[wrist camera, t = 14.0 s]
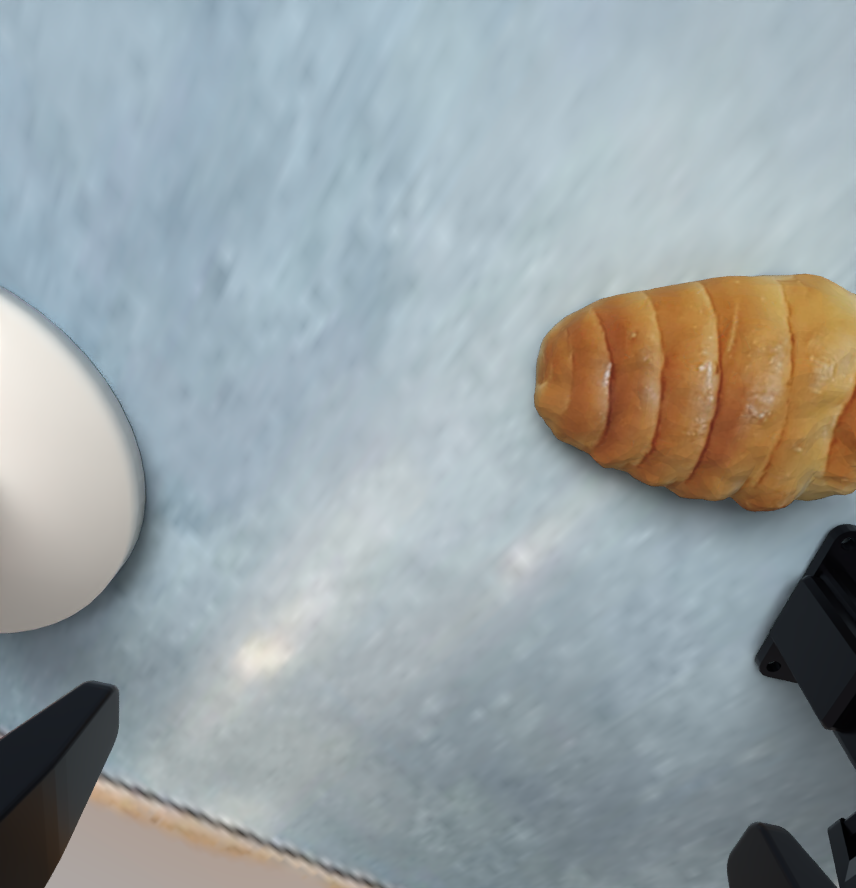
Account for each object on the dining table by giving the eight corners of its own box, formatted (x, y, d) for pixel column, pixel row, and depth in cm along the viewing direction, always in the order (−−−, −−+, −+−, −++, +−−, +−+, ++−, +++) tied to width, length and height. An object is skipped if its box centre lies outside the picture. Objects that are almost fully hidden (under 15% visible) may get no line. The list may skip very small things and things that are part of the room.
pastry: (519, 457, 22) (526, 518, 18) (548, 247, 19) (564, 273, 15) (807, 483, 21) (870, 550, 18) (883, 273, 18) (975, 305, 15)
